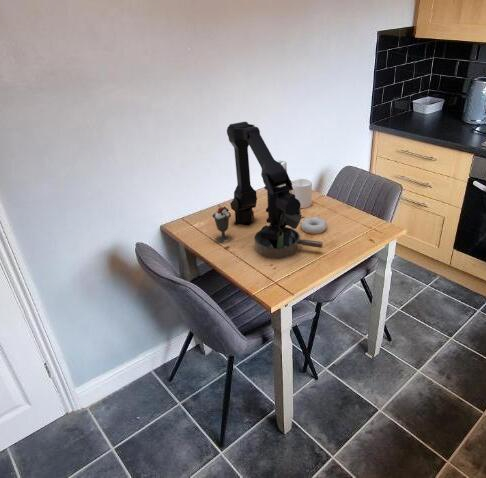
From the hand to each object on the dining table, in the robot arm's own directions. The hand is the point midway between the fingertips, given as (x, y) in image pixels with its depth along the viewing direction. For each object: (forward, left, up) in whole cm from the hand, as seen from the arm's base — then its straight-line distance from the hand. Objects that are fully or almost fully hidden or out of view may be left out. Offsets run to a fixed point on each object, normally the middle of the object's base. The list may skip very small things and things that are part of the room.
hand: (277, 244), depth 153 cm
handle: (+12, 0, +1) cm, 12 cm away
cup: (-3, +36, -2) cm, 36 cm away
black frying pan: (0, 0, -2) cm, 2 cm away
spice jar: (0, 0, -1) cm, 1 cm away
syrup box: (-15, +46, -2) cm, 48 cm away
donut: (+9, +17, -2) cm, 19 cm away
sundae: (-21, 0, -2) cm, 21 cm away
